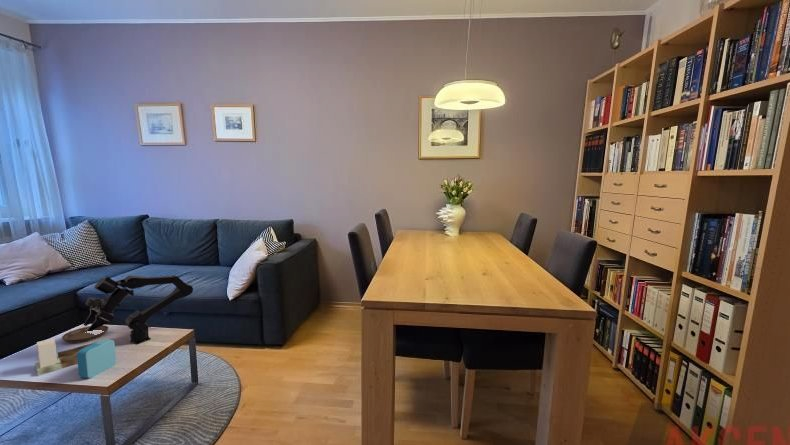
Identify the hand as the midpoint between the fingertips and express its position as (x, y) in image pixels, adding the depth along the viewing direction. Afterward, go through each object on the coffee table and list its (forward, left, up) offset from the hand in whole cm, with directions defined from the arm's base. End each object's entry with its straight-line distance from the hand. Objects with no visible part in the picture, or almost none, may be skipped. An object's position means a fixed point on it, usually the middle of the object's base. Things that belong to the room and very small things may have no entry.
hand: (86, 328), depth 149 cm
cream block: (+13, -3, -12) cm, 17 cm away
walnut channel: (+5, -1, -14) cm, 14 cm away
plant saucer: (-10, -25, -14) cm, 30 cm away
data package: (+5, +19, -14) cm, 24 cm away
